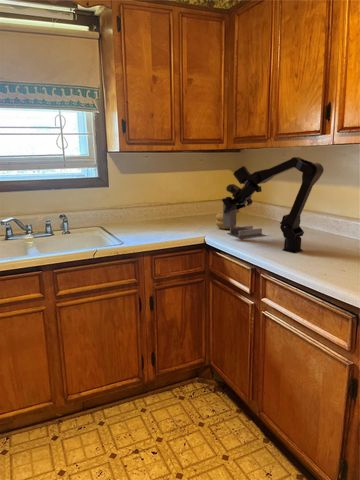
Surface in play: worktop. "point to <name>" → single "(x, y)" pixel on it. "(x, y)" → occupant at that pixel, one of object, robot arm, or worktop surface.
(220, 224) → the pot
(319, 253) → the worktop surface
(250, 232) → the bracket
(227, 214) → the gray rectangular block
